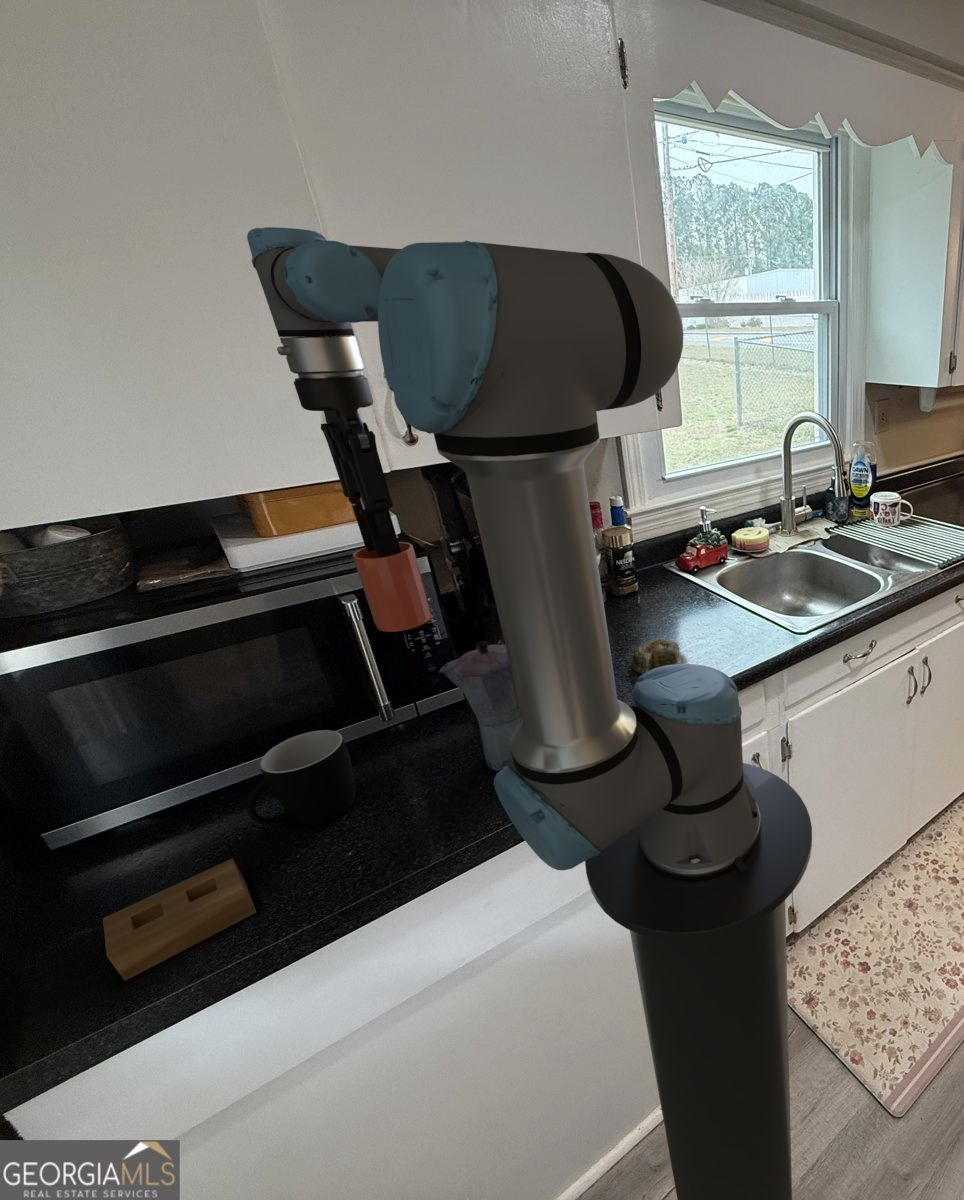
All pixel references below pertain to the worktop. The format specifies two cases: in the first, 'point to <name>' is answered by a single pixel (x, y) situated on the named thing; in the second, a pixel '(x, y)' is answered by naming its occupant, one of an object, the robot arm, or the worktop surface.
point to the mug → (307, 778)
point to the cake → (655, 655)
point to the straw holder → (176, 919)
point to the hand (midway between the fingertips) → (383, 552)
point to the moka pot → (489, 698)
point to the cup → (393, 588)
